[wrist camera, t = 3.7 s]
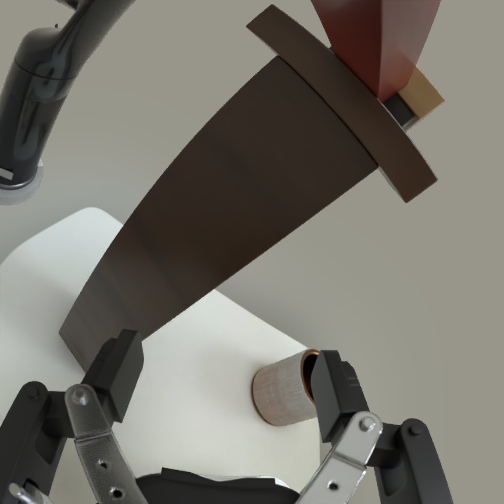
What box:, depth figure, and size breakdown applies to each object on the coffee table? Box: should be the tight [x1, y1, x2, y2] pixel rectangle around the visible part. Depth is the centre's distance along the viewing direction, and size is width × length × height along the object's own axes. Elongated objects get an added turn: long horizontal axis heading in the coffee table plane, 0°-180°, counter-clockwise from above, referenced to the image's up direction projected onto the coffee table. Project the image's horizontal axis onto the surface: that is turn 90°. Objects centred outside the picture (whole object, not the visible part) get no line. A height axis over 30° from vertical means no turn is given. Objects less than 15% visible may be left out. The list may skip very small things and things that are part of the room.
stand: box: [59, 4, 438, 373], centre depth 19 cm, size 8×9×33 cm
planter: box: [253, 349, 320, 426], centre depth 41 cm, size 11×11×10 cm
